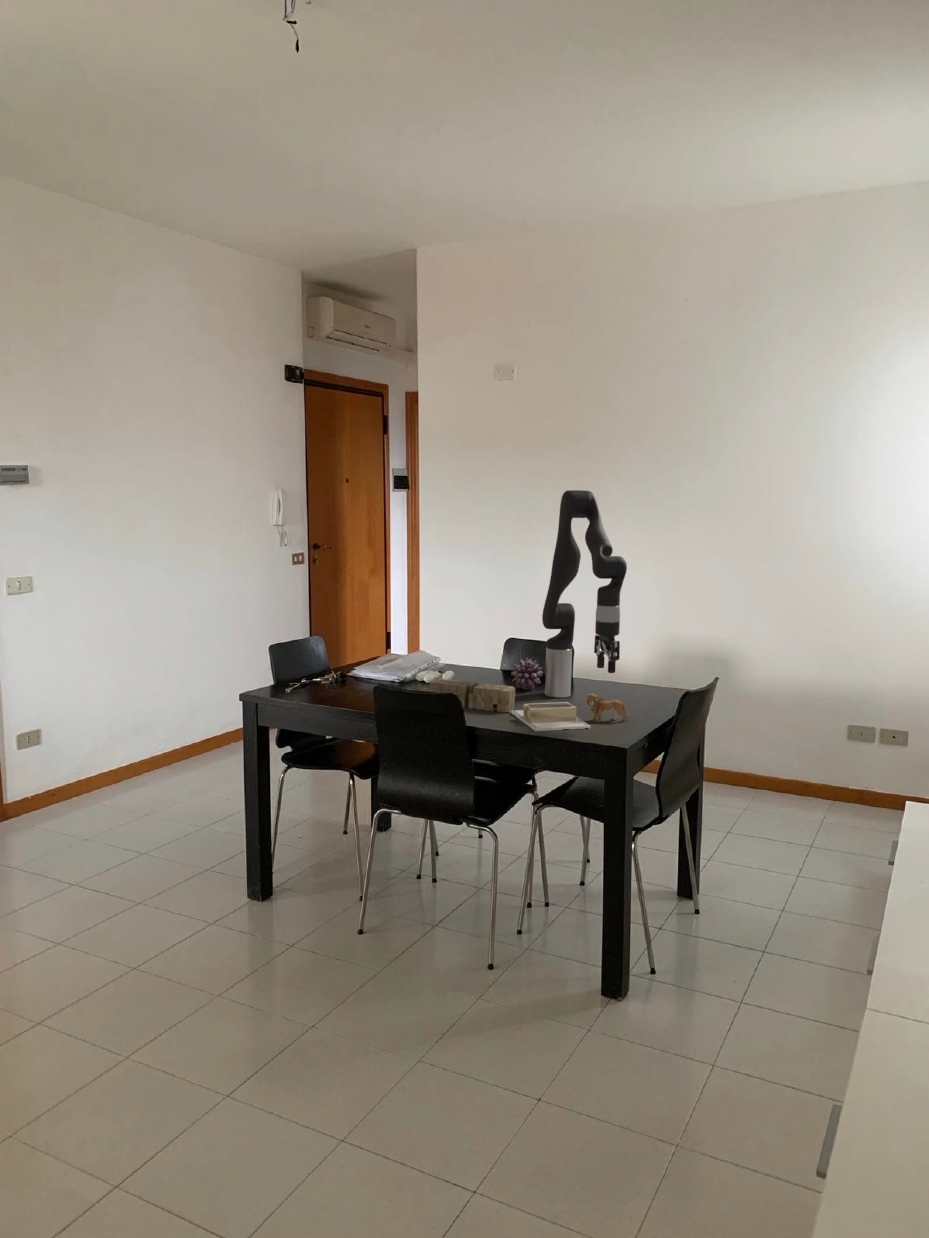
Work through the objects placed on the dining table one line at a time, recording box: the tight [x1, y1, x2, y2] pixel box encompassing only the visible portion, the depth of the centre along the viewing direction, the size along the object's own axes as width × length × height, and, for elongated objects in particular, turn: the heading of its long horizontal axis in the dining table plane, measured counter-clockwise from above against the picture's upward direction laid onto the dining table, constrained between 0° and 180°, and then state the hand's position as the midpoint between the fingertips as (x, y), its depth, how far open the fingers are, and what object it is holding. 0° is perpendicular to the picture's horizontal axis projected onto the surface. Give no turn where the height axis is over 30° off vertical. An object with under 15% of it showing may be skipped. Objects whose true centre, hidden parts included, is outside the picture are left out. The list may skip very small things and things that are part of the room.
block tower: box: [429, 677, 516, 713], centre depth 308 cm, size 8×8×29 cm
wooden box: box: [522, 701, 578, 722], centre depth 289 cm, size 8×15×4 cm, turn 105°
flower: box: [511, 657, 544, 691], centre depth 335 cm, size 12×12×12 cm
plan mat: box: [510, 709, 591, 732], centre depth 290 cm, size 24×18×1 cm
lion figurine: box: [584, 693, 630, 723], centre depth 290 cm, size 15×5×9 cm, turn 102°
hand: (605, 670), depth 288 cm, fingers open, 8 cm apart
